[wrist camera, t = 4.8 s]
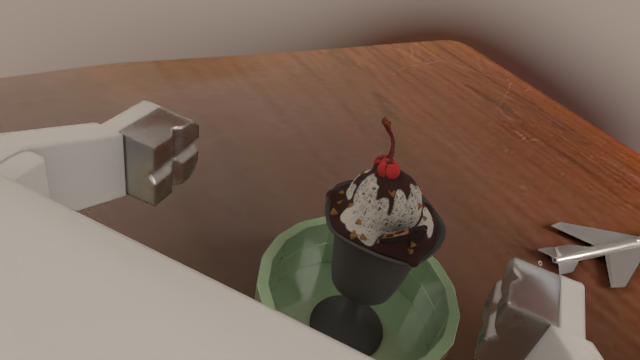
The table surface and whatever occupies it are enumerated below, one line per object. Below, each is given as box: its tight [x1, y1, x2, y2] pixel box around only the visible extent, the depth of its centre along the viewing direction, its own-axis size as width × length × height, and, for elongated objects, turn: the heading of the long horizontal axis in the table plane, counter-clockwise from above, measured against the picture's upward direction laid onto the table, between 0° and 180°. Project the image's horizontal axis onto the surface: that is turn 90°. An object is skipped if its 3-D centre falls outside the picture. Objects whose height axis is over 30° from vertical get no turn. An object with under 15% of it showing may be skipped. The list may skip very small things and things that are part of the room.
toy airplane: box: [537, 222, 640, 288], centre depth 44 cm, size 8×21×2 cm, turn 111°
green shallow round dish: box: [254, 216, 460, 360], centre depth 32 cm, size 12×13×4 cm
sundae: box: [310, 117, 446, 356], centre depth 29 cm, size 7×7×15 cm
